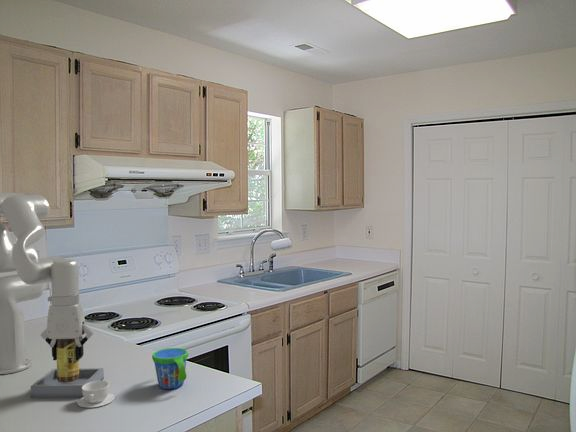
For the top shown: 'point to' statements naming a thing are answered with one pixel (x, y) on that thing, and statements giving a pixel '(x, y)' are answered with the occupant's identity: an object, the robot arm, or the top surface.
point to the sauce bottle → (67, 360)
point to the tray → (65, 384)
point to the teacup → (95, 394)
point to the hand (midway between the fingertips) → (68, 358)
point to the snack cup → (170, 367)
